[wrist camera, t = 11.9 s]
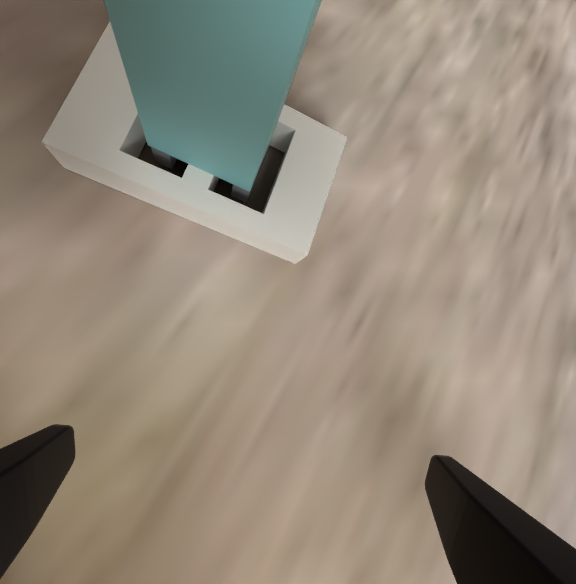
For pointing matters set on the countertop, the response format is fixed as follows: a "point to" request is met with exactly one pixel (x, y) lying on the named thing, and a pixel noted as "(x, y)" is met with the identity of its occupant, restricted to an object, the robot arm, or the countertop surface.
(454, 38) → the countertop surface
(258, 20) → the teal pillar on feet
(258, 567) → the countertop surface
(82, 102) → the slotted plate
